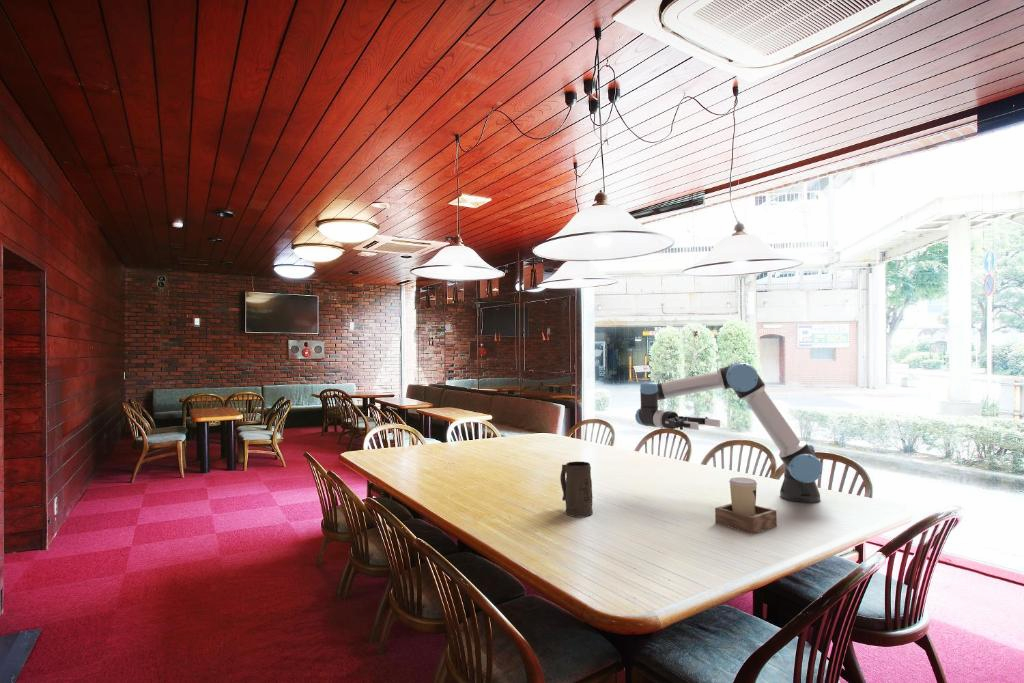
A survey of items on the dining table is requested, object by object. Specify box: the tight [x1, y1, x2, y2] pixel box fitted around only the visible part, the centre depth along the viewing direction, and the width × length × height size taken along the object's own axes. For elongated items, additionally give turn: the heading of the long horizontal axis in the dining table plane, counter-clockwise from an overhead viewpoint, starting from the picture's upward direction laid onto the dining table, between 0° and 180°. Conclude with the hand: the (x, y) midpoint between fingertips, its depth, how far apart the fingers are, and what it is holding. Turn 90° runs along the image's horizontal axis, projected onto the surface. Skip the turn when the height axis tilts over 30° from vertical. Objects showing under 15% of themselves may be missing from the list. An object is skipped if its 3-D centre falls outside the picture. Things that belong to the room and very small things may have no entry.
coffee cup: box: [729, 477, 758, 516], centre depth 195 cm, size 9×9×12 cm
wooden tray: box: [714, 502, 778, 535], centre depth 192 cm, size 15×15×6 cm
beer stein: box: [559, 461, 594, 517], centre depth 210 cm, size 15×11×20 cm
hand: (708, 424), depth 210 cm, fingers open, 13 cm apart
